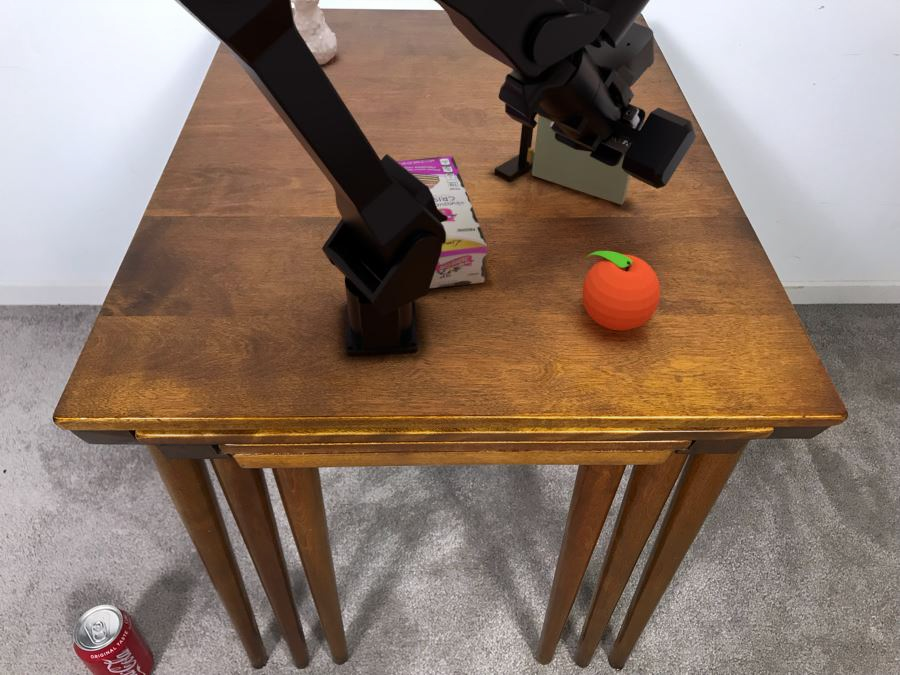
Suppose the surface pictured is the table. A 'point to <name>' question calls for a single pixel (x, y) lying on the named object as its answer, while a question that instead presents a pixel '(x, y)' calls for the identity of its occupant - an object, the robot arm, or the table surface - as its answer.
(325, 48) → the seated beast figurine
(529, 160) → the hinge post
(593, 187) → the door
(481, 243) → the candy bar box
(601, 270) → the clementine
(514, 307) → the table surface
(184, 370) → the table surface
